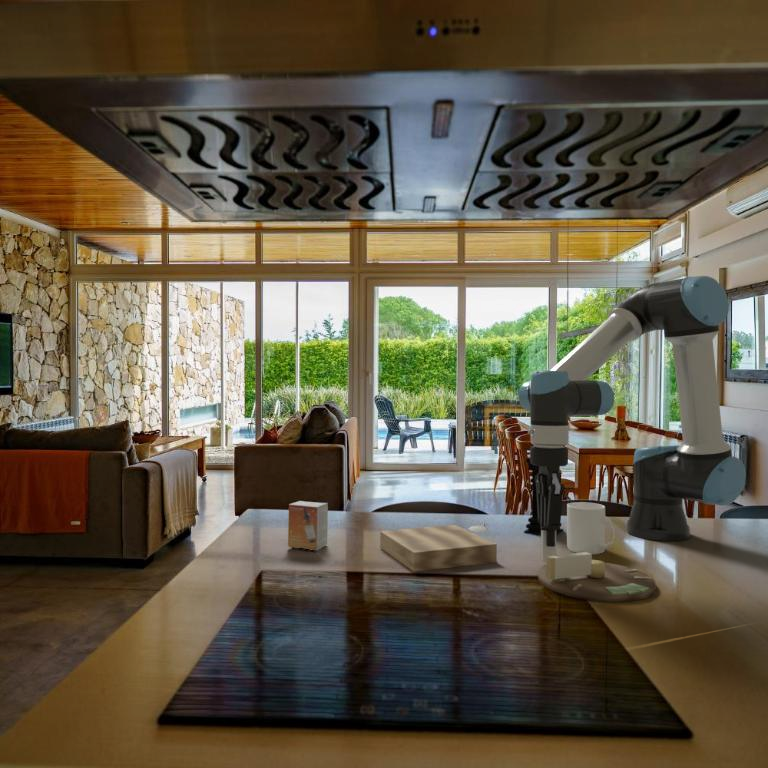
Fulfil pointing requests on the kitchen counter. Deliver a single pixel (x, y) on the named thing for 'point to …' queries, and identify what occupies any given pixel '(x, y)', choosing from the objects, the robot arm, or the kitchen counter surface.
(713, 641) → the kitchen counter surface
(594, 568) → the white bar with ball
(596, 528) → the mug
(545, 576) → the dial
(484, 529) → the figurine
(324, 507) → the small box
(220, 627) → the kitchen counter surface
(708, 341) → the robot arm
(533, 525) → the chess piece
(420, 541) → the block
